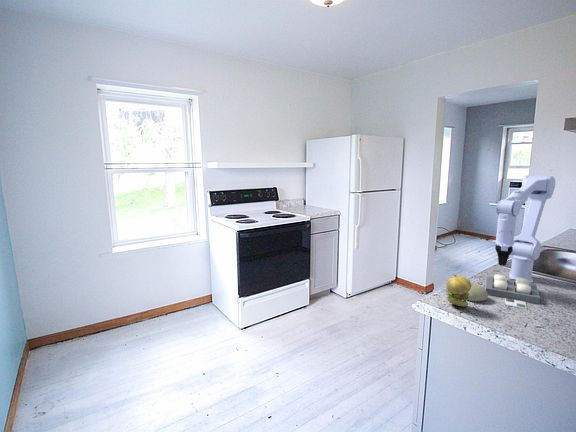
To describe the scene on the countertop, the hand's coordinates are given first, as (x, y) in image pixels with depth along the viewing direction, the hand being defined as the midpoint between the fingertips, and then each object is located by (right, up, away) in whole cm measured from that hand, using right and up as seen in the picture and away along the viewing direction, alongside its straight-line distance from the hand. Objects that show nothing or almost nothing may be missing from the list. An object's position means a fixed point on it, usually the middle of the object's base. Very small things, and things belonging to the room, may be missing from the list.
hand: (502, 264), depth 123 cm
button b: (-4, -9, -4) cm, 10 cm away
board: (+1, -10, -3) cm, 11 cm away
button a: (0, -8, +1) cm, 8 cm away
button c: (+6, -8, -3) cm, 10 cm away
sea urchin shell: (-16, -11, -8) cm, 21 cm away
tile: (-4, -12, -13) cm, 18 cm away
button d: (+2, -9, -8) cm, 13 cm away
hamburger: (-26, -12, -15) cm, 32 cm away
